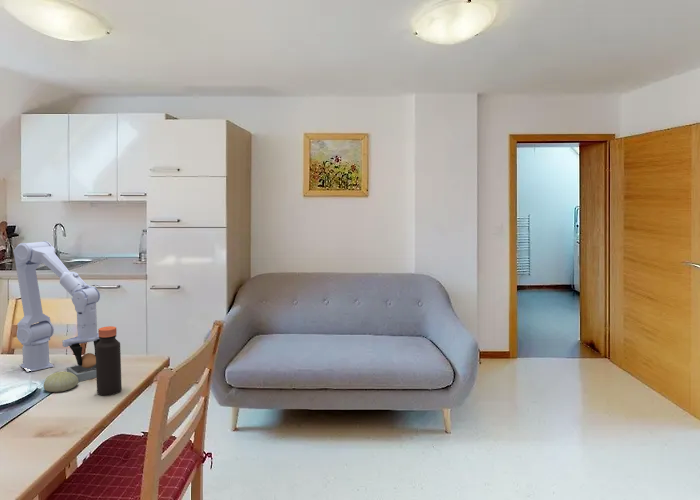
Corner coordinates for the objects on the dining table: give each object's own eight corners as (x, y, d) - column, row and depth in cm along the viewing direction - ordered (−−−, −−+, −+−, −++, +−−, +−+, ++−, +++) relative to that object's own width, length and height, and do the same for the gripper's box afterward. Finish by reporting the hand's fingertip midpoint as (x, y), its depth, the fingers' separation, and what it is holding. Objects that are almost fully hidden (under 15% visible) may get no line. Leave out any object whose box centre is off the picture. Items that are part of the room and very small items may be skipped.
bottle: (110, 385, 149) (108, 324, 147) (126, 389, 147) (124, 326, 145) (91, 393, 143) (89, 329, 141) (108, 397, 140) (106, 332, 138)
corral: (66, 374, 158) (66, 367, 158) (100, 366, 166) (99, 359, 165) (76, 382, 151) (76, 374, 151) (111, 373, 159) (110, 366, 159)
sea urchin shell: (64, 389, 141) (47, 369, 142) (49, 405, 143) (33, 385, 143) (87, 378, 150) (71, 359, 151) (73, 393, 152) (57, 375, 152)
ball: (78, 367, 158) (77, 353, 158) (94, 364, 162) (93, 350, 161) (83, 371, 155) (82, 357, 154) (99, 367, 159) (98, 353, 158)
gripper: (66, 330, 149) (68, 371, 150) (114, 322, 159) (115, 360, 161) (59, 325, 153) (61, 366, 155) (106, 318, 164) (107, 355, 166)
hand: (88, 363), depth 158 cm, fingers closed on ball, 5 cm apart
